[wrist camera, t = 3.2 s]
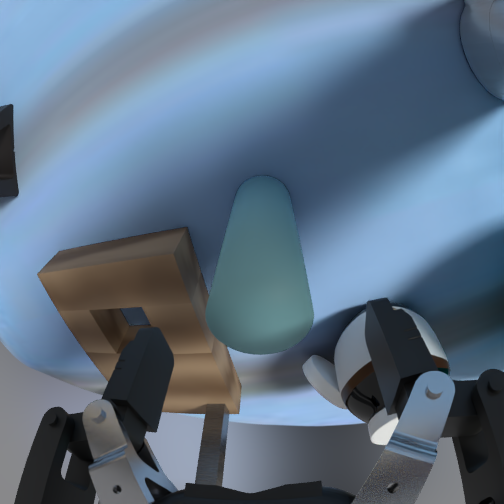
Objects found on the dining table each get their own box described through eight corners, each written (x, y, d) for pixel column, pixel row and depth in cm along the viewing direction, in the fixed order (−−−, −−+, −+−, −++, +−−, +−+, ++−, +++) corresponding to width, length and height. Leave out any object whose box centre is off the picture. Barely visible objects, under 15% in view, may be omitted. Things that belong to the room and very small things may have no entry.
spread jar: (432, 307, 26) (479, 396, 16) (380, 374, 31) (402, 456, 21) (334, 285, 24) (364, 402, 14) (291, 364, 30) (295, 462, 20)
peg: (229, 180, 20) (191, 282, 10) (286, 171, 20) (310, 268, 9) (240, 230, 22) (220, 357, 12) (293, 223, 22) (315, 348, 11)
